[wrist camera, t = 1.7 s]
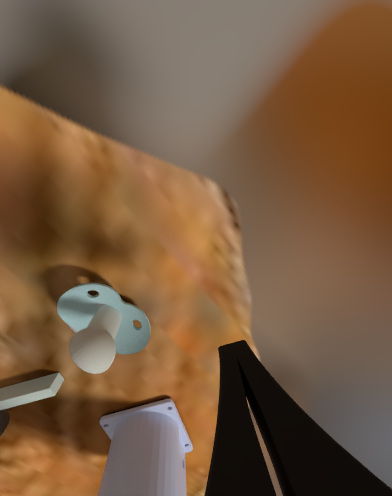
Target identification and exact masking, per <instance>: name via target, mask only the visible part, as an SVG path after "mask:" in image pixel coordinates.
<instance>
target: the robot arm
mask: <svg viewBox="0 0 392 496" xmlns="http://www.w3.org/2000/svg"><path fill="white" fill-rule="evenodd" d="M218 350H219V358H220V390H219V404H218V415H217V424H216V432H215V440H214V446H213V453H212V459H211V464H210V470H209V476H208V481H207V486H206V491H205V496H276V493H275V490H274V487H273V484H272V481H271V478H270V475H269V472H268V468H267V465H266V462H265V459H264V456H263V453H262V450H261V447H260V444H259V441H258V437H257V435H256V431H255V428H254V425H253V422H252V419H251V415H250V412H249V407H248V403H247V400H248V402H249V405H250V407H251V410H252V412H253V415H254V417H255V420H256V423H257V425H258V428H259V430H260V433H261V435H262V438H263V440H264V443H265V445H266V448H267V451H268V453H269V455H270V458H271V461H272V464H273V467H274V469H275V472H276V475H277V479H278V481H279V485H280V488H281V491H282V494H283V496H392V489H391V488H390V487H388V486H387V485H386V484H385V483H384V482H382V481H381V480H380V479H379V478H377V477H376V476H375V475H374V474H373V473H372V472H370V471H369V470H368V469H367V468H366V467H364V466H363V465H362V464H361V463H360V462H359V461H358V460H357V459H355V458H354V457H353V456H352V455H351V454H350V453H349V452H347V451H346V450H345V449H344V448H343V447H342V446H341V445H339V444H338V443H337V442H336V441H335V440H334V439H333V438H332V437H331V436H329V435H328V434H327V433H326V432H325V431H324V430H323V429H322V428H321V427H320V426H319V425H318V424H317V423H316V422H315V421H314V420H313V419H312V418H311V417H309V416H308V415H307V414H306V413H305V412H304V411H303V410H302V409H301V408H300V407H299V406H298V405H297V404H296V402H295V401H294V400H293V399H292V398H291V397H290V396H289V395H288V394H287V393H286V392H285V391H284V390H283V389H282V387H281V386H280V385H279V384H278V383H277V382H276V381H275V379H274V378H273V377H272V376H271V375H270V373H269V372H268V371H267V370H266V369H265V367H264V366H263V365H262V364H261V362H260V361H259V360H258V358H257V357H256V356H255V354H254V353H253V352H252V350H251V349H250V347H249V346H248V344H247V342H246V341H245V340H241V341H238V342H234V343H230V344H226V345H223V346H220V347H219V348H218ZM246 397H247V399H246ZM99 423H100V425H101V426H102V428H103V429H104V431H105V432H106V434H107V435H108V436H109V438H110V439H111V445H110V449H109V453H108V457H107V461H106V465H105V469H104V473H103V477H102V481H101V485H100V489H99V493H98V496H186V467H185V453H188V452H191V451H192V450H193V445H192V443H191V441H190V438H189V436H188V434H187V431H186V429H185V427H184V425H183V422H182V420H181V418H180V416H179V413H178V411H177V409H176V406H175V404H174V402H173V400H172V399H164V400H161V401H157V402H153V403H150V404H146V405H142V406H139V407H135V408H131V409H128V410H124V411H120V412H116V413H113V414H109V415H105V416H102V417H101V419H100V422H99Z"/></svg>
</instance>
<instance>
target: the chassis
mask: <svg viewBox="0 0 392 496" xmlns="http://www.w3.org/2000/svg"><path fill="white" fill-rule="evenodd" d="M63 381H64V378H63V377H62V376H61V374H60V373H59V372H58V373H55V374H51V375H47V376H44V377H40V378H36V379H32V380H29V381H25V382H21V383H18V384H14V385H10V386H6V387H3V388H0V436H1V434H2V433H3V432H4V430H5V429H6V427H7V425H8V423H9V420H10V414H9V413H8V412H7V411H6V410H5V409H7V408H11V407H15V406H19V405H22V404H26V403H30V402H33V401H37V400H41V399H44V398H48V397H52V396H55V395H56V393H57V391H58V389H59V388H60V386H61V384H62V382H63Z"/></svg>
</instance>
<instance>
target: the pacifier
mask: <svg viewBox="0 0 392 496" xmlns="http://www.w3.org/2000/svg"><path fill="white" fill-rule="evenodd" d="M90 290H95V291H97V292H98V293H99V294H97V295H95V296H92V295H89V294H88V291H90ZM57 311H58V314H59V316H60V317H61V318H62V319H63V320H64V321H65V322H66V323H67V324H68V326H69V327H70V328H71V329H72V330H73V331H74V332H75V333H76V334H75V335H74V336H73V337H72V338H71V340H70V343H69V352H70V355H71V358H72V359H73V361H74V362H75V364H76V365H77V366H78V367H80V368H81V369H82V370H84V371H86V372H89V373H93V374H98V373H102V372H104V371H106V370H107V369H108V368H109V367H110V366H111V364H112V362H113V360H114V357H115V353H120V354H134V353H137V352H139V351H141V350H142V349H143V348H145V346H146V345H147V343H148V341H149V338H150V323H149V320H148V318H147V316H146V314H145V313H144V312H143V311H142V310H141V309H140V308H138V307H137V306H135V305H133V304H130V303H126V302H124V301H123V300H122V299H121V298H120V295H119V294H118V293H117V291H115V290H114V289H113V288H112V287H110V286H108V285H105V284H102V283H84V284H80V285H77V286H75V287H73V288H71V289H69V290H68V291H66V292H65V293H64V294H63V295H62V296H61V297H60V299H59V300H58V303H57ZM134 320H138V321H140V322H141V324H142V327H140V328H138V327H136V326H134V324H133V321H134Z"/></svg>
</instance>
